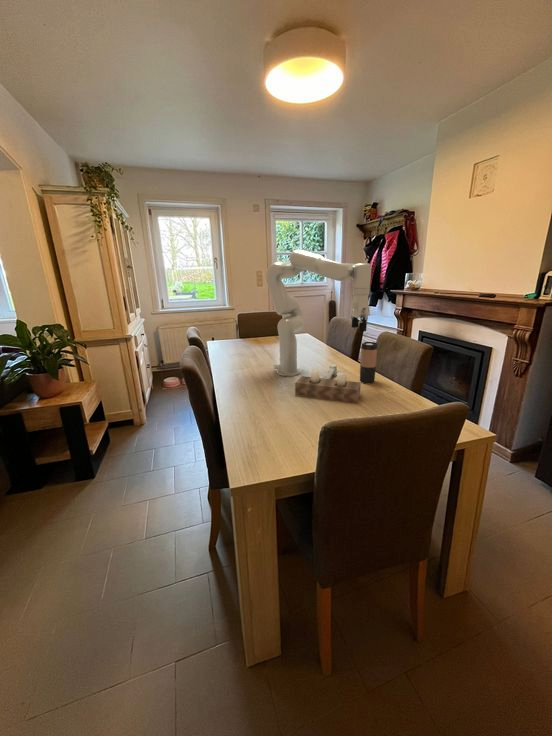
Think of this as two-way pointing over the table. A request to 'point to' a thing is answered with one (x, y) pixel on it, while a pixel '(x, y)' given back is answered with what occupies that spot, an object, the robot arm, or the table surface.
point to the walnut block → (328, 389)
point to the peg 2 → (341, 379)
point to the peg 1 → (315, 376)
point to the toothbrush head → (331, 372)
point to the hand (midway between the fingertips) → (358, 329)
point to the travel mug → (368, 362)
